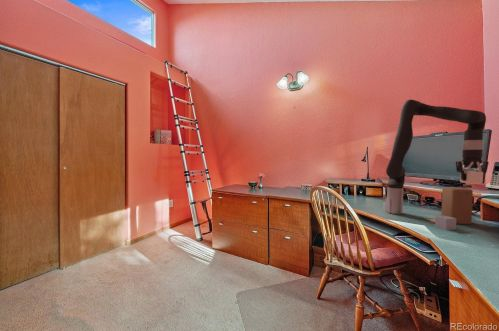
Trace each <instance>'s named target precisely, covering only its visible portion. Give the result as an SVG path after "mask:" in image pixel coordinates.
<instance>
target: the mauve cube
mask: <svg viewBox="0 0 499 331" xmlns="http://www.w3.org/2000/svg"><path fill="white" fill-rule="evenodd" d="M434 219H435V223H434V227H436V228H439V229H441V230H444V231H449V230H450V231H451V230H452V231H453V230H457V224H456V218H453V217H449V216H446V215H443V216H442V215H435V218H434Z"/></svg>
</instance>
